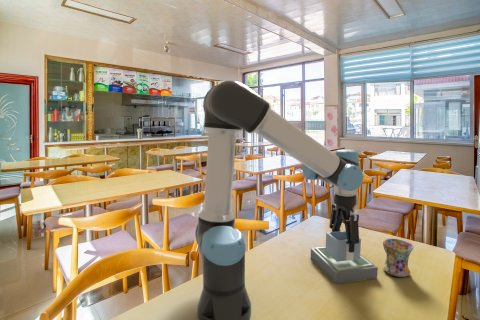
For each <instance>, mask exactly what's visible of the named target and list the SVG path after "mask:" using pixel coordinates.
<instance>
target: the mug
mask: <svg viewBox="0 0 480 320" xmlns="http://www.w3.org/2000/svg"><path fill="white" fill-rule="evenodd" d="M382 245H383V250H384V251H385V254H386V260H385V262H384V264H383V265H382V269H383V271H384V272H386V273H387V274H389V275H391V276H394V277H399V278H406V277H408V276H410V274H411V271H410V269H409V257H410V255H411V254H412V251H413V250H414V245H413V244H412V243H410V242H409V241H406V240H403V239H398V238H386V239H384V240H383V242H382Z"/></svg>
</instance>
